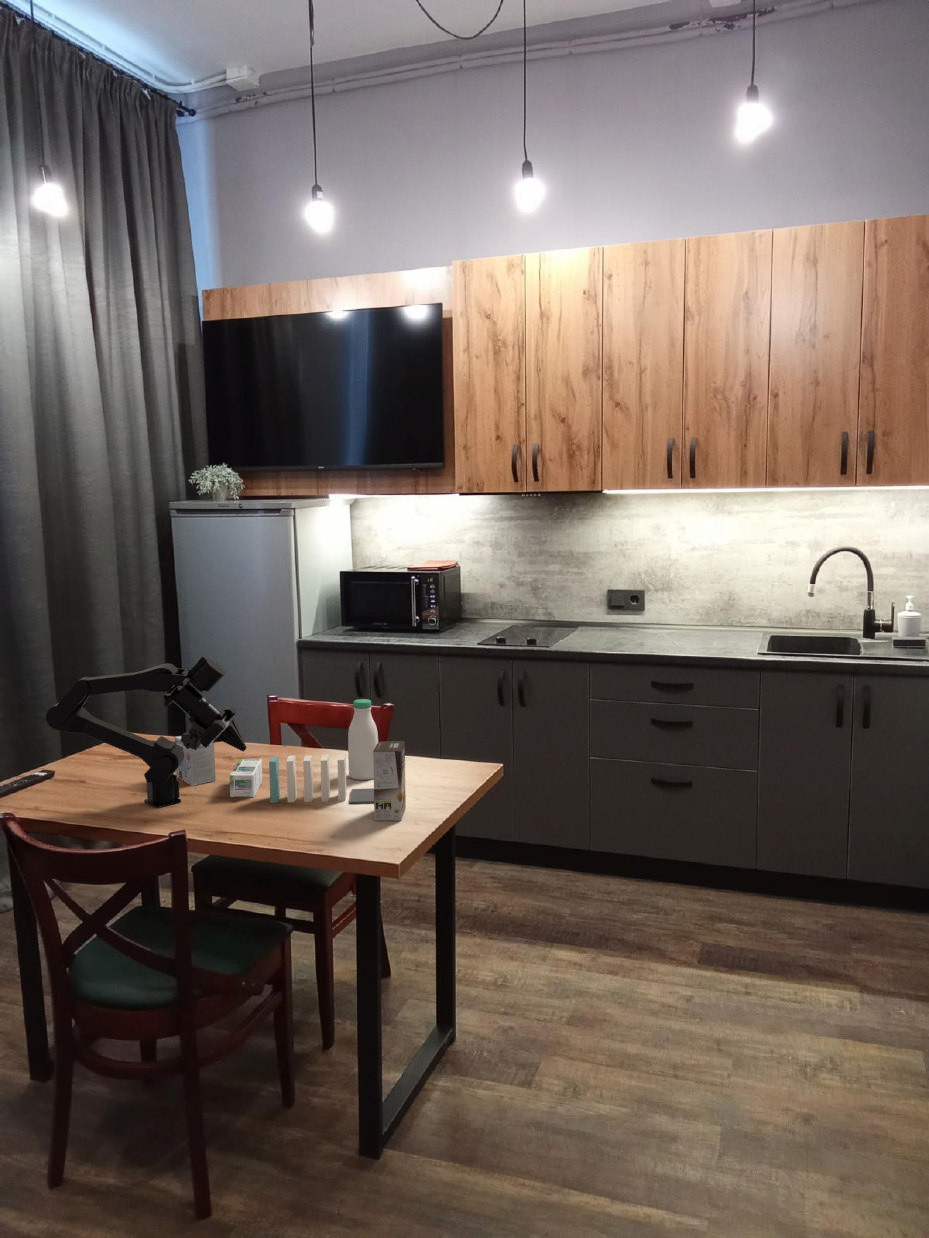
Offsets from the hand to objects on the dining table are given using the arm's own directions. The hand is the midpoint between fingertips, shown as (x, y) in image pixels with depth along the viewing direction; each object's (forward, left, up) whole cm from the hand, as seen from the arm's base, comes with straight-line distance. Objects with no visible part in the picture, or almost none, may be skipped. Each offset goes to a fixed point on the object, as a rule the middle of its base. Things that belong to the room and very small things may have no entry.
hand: (245, 749), depth 226 cm
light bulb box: (0, +25, -13) cm, 28 cm away
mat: (+23, -19, -12) cm, 32 cm away
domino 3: (+11, -9, -12) cm, 19 cm away
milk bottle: (+32, -4, -13) cm, 34 cm away
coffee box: (+18, -32, -13) cm, 39 cm away
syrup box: (+9, +14, -10) cm, 19 cm away
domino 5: (+17, -15, -12) cm, 26 cm away
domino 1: (+5, -4, -12) cm, 14 cm away
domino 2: (+8, -7, -12) cm, 16 cm away
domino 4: (+14, -12, -12) cm, 22 cm away
